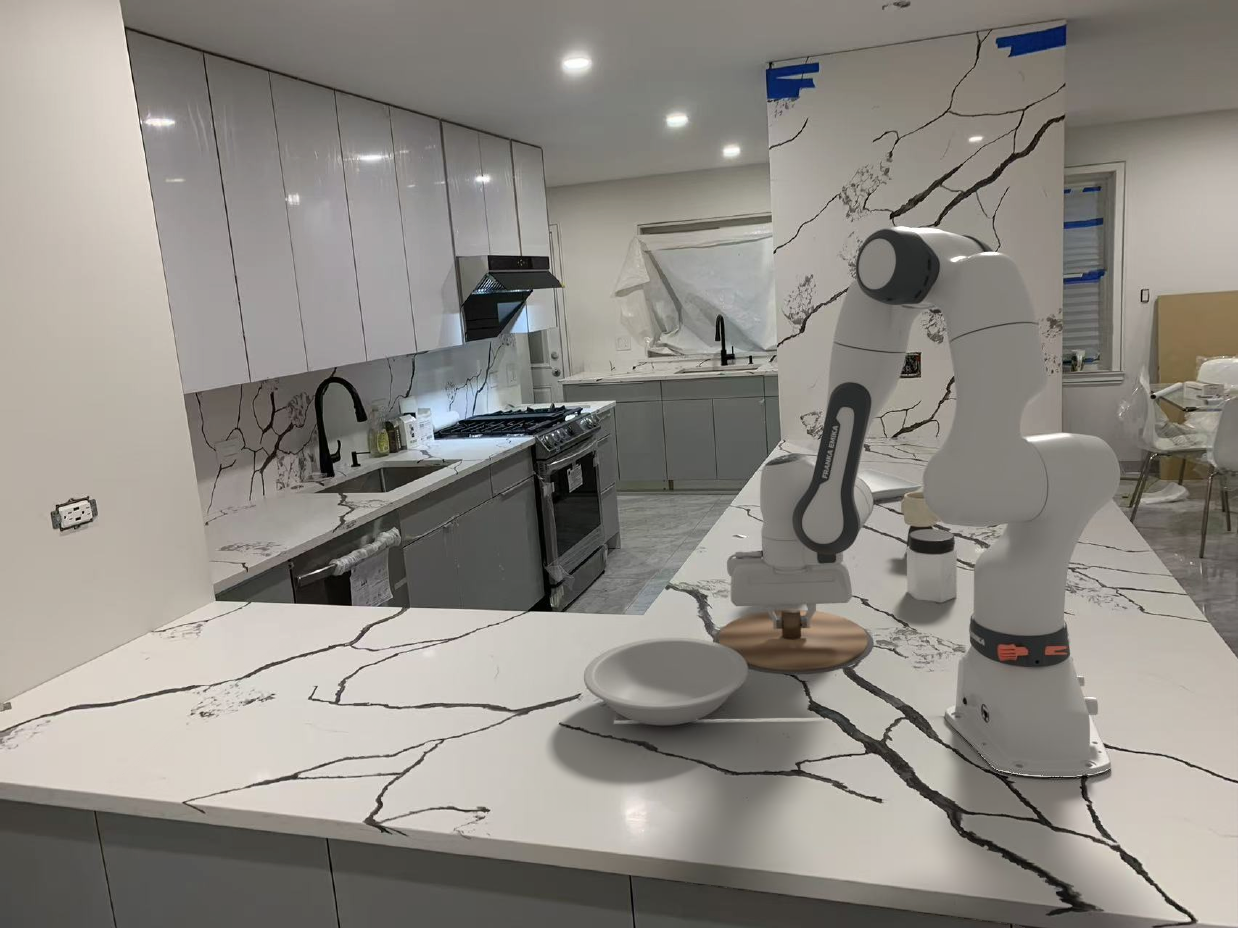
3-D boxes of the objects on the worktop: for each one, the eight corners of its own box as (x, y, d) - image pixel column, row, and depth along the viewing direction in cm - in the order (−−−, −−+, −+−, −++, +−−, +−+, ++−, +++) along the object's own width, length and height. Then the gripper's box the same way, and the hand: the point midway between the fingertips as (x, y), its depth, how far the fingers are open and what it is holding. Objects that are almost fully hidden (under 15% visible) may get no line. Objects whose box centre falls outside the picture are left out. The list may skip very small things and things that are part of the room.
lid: (879, 669, 138) (879, 638, 137) (718, 673, 141) (717, 642, 140) (855, 611, 162) (854, 584, 161) (718, 615, 165) (717, 589, 164)
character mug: (952, 554, 192) (952, 496, 189) (929, 561, 188) (929, 502, 186) (913, 544, 201) (912, 488, 199) (890, 550, 198) (890, 493, 195)
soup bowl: (652, 664, 147) (649, 626, 146) (780, 697, 132) (778, 656, 131) (553, 723, 129) (549, 681, 128) (688, 770, 114) (685, 723, 113)
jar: (934, 606, 163) (934, 544, 161) (898, 595, 170) (898, 535, 168) (965, 594, 168) (965, 533, 166) (928, 584, 175) (928, 526, 172)
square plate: (787, 491, 261) (787, 478, 260) (868, 479, 269) (868, 467, 268) (836, 511, 235) (836, 496, 235) (924, 497, 243) (924, 483, 242)
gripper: (726, 557, 147) (730, 636, 149) (852, 553, 144) (854, 633, 147) (726, 546, 153) (730, 622, 156) (847, 542, 151) (848, 618, 153)
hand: (791, 627), depth 151 cm, fingers open, 3 cm apart
